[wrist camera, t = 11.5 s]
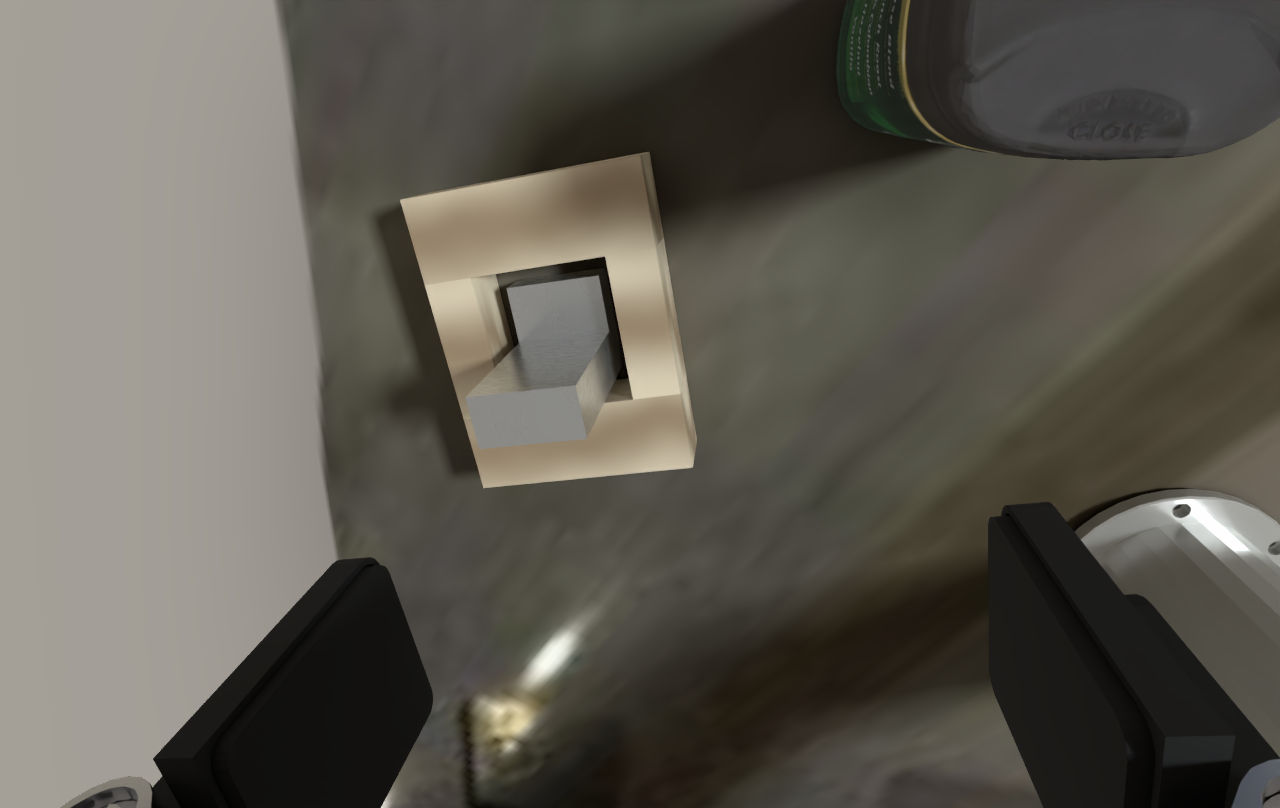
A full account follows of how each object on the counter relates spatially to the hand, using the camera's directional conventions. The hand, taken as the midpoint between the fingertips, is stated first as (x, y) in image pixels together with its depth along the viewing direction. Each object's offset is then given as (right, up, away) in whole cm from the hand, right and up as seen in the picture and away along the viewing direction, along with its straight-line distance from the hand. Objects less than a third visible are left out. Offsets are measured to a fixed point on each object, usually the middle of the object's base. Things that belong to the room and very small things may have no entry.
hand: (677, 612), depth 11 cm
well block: (-5, +8, +28) cm, 30 cm away
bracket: (-4, +8, +28) cm, 30 cm away
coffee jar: (+13, +19, +21) cm, 32 cm away
